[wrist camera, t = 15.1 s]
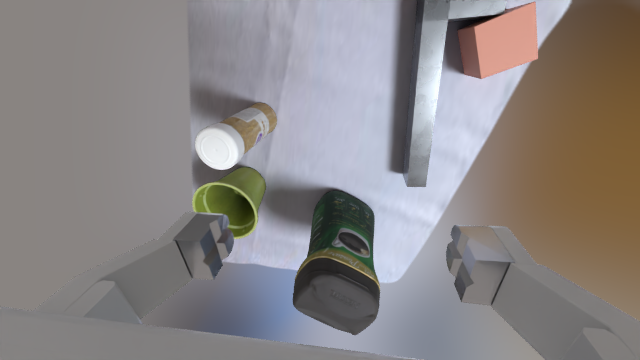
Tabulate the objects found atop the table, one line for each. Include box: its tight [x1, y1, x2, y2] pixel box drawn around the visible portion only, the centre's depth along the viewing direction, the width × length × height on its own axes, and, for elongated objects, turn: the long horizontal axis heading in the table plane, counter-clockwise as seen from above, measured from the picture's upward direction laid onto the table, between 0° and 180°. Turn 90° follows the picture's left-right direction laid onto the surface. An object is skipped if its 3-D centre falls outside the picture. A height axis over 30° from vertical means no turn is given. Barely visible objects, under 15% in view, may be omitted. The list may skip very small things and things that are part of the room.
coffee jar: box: [293, 191, 380, 335], centre depth 34 cm, size 10×8×19 cm
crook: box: [403, 0, 507, 187], centre depth 30 cm, size 21×7×4 cm, turn 4°
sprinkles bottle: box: [195, 103, 277, 170], centre depth 31 cm, size 5×5×14 cm
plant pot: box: [192, 167, 266, 239], centre depth 38 cm, size 9×9×9 cm
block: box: [457, 2, 538, 79], centre depth 26 cm, size 5×5×5 cm
